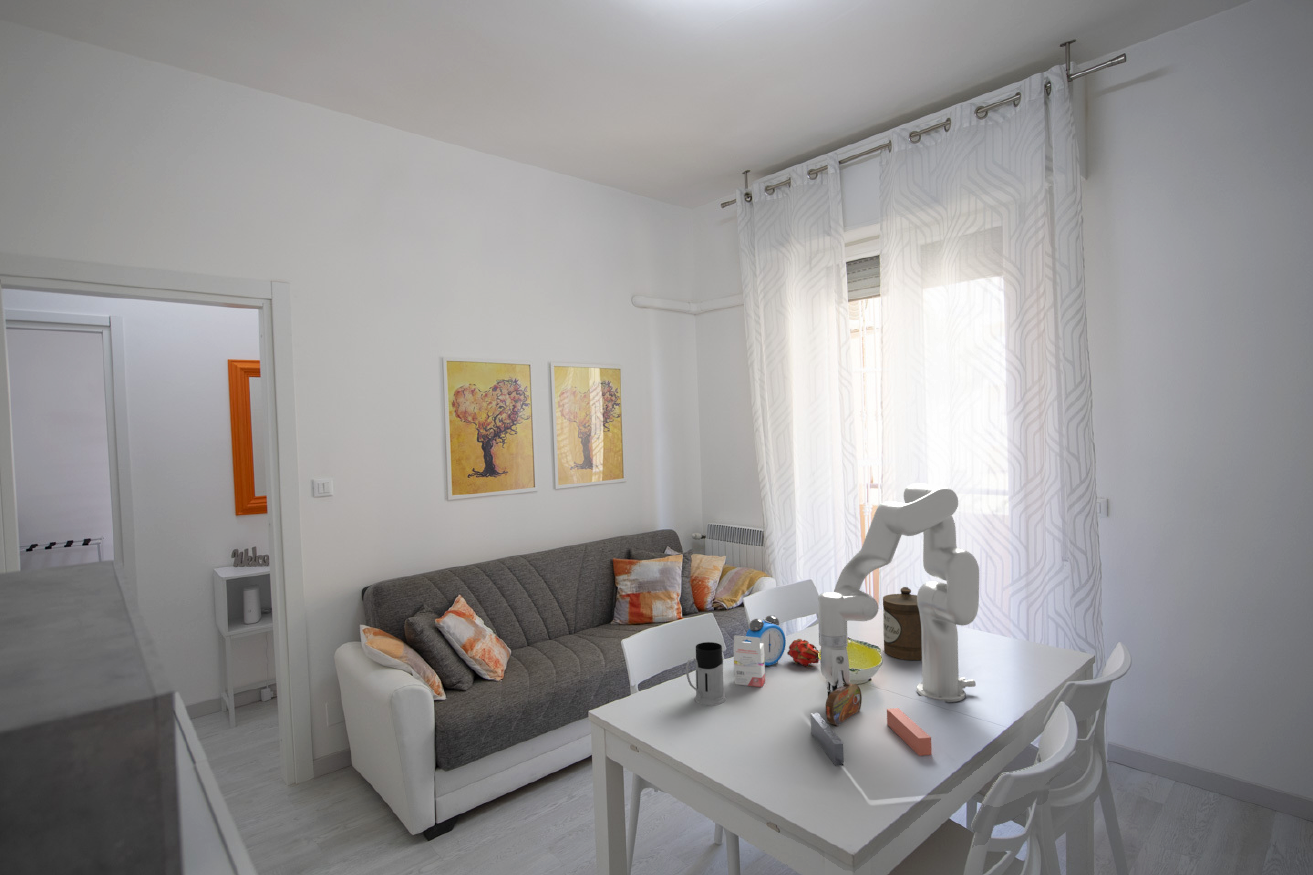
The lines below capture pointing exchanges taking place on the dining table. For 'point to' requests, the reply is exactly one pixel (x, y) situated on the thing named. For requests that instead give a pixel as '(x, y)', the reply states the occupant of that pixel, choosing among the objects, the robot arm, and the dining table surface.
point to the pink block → (909, 731)
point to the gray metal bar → (827, 739)
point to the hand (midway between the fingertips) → (834, 706)
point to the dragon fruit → (803, 652)
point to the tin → (843, 703)
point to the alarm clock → (768, 638)
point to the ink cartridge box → (749, 661)
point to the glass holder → (708, 674)
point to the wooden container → (902, 626)
